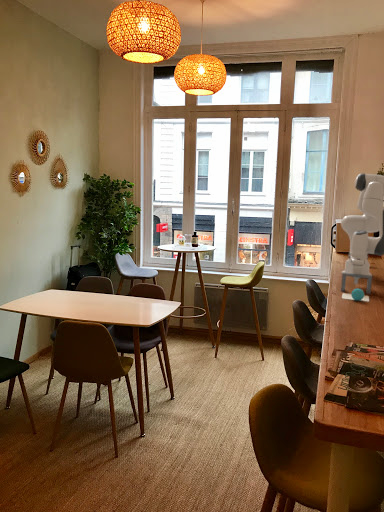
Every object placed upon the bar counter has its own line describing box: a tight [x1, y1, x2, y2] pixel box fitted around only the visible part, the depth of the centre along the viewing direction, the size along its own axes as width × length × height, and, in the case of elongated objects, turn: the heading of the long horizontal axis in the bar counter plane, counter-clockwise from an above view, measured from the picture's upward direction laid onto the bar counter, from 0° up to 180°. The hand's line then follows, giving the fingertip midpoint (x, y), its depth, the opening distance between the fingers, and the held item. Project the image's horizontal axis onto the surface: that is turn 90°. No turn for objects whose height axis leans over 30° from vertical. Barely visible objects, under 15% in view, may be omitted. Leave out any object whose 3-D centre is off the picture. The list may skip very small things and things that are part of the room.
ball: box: [350, 288, 365, 302], centre depth 229 cm, size 6×6×6 cm
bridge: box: [340, 273, 373, 295], centre depth 249 cm, size 3×15×10 cm, turn 71°
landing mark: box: [341, 292, 370, 303], centre depth 236 cm, size 13×13×1 cm
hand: (355, 283), depth 261 cm, fingers closed
